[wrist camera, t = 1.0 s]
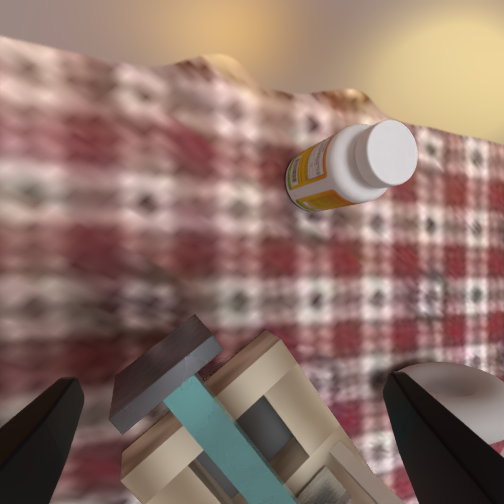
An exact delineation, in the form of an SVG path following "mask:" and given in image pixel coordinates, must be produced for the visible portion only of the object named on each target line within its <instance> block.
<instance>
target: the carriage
mask: <svg viewBox="0 0 504 504" xmlns="http://www.w3.org/2000/svg"><path fill="white" fill-rule="evenodd" d="M223 350H224V349H223V348H222V347H221V345H220V344H219V343H218V341H217V340H216V339H215V337H214V336H213V335H212V333H211V332H210V331H209V330H208V329H207V328H206V326H205V325H204V324H203V323H202V322H201V321H200V319H199V318H198V317H197V316H196V315H193V316H192V317H191V318H189V319H188V320H187V321H186V322H184V323H183V324H182V325H180V326H179V327H178V328H177V329H175V330H174V331H173V332H171V333H170V334H169V335H168V336H166V337H165V338H164V339H162V340H161V341H160V342H159V343H157V344H156V345H155V346H153V347H152V348H151V349H150V350H148V351H147V352H146V353H144V354H143V355H142V356H141V357H139V358H138V359H137V360H135V361H134V362H133V363H132V364H130V365H129V366H128V367H126V368H125V369H124V370H123V371H121V372H120V373H119V374H117V375H116V376H115V383H114V389H113V396H112V403H111V409H110V416H109V420H110V422H111V423H112V424H113V425H114V426H115V427H116V428H117V429H118V430H119V431H120V432H121V434H122V435H123V434H124V433H125V432H126V431H127V430H129V429H130V428H131V427H132V426H133V425H135V424H136V423H137V422H138V421H139V420H141V419H142V418H143V417H144V416H145V415H146V414H148V413H149V412H150V411H151V410H152V409H154V408H155V407H156V406H157V405H158V404H160V403H161V402H162V401H163V402H164V404H165V405H166V406H167V407H168V408H169V409H170V411H171V412H172V413H173V414H174V415H175V417H176V418H177V419H178V420H179V421H180V422H181V424H182V425H183V426H184V427H185V428H186V430H187V431H188V432H189V433H190V434H191V435H192V437H193V438H194V439H195V440H196V441H197V443H198V444H199V445H200V446H201V447H202V448H203V450H204V451H205V452H206V453H207V454H208V456H209V457H210V458H211V459H212V460H213V461H214V463H215V464H216V465H217V466H218V467H219V469H220V470H221V471H222V472H223V473H224V474H225V476H226V477H227V478H228V479H229V480H230V481H231V483H232V484H233V485H234V486H235V487H236V489H237V490H238V491H239V492H240V493H241V494H242V496H243V497H244V498H245V499H246V500H247V502H248V503H249V504H354V502H353V501H352V500H351V498H352V497H351V496H350V494H349V493H348V491H347V490H346V489H345V488H344V487H343V485H342V484H341V483H340V482H339V481H338V480H337V478H336V477H335V476H334V475H333V474H332V473H331V472H330V470H329V469H328V468H327V467H326V466H325V467H324V468H323V469H322V471H321V472H320V473H319V474H318V475H317V476H316V477H315V478H314V479H313V480H312V481H311V482H310V484H309V485H308V486H307V487H306V488H305V489H304V490H303V491H302V492H301V493H300V494H299V496H298V497H297V498H296V496H295V495H294V494H293V493H292V491H291V490H290V489H289V487H288V486H287V485H286V484H285V482H284V481H283V480H282V479H281V477H280V476H279V475H278V474H277V472H276V471H275V470H274V468H273V467H272V466H271V465H270V463H269V462H268V461H267V460H266V458H265V457H264V456H263V455H262V453H261V452H260V451H259V450H258V448H257V447H256V446H255V444H254V443H253V442H252V441H251V439H250V438H249V437H248V436H247V434H246V433H245V432H244V431H243V429H242V428H241V427H240V425H239V424H238V423H237V422H236V420H235V419H234V418H233V417H232V415H231V414H230V413H229V412H228V410H227V409H226V408H225V407H224V405H223V404H222V403H221V401H220V400H219V399H218V398H217V396H216V395H215V394H214V393H213V391H212V390H211V389H210V388H209V386H208V385H207V384H206V382H205V381H204V380H203V379H202V377H201V376H200V375H199V374H198V371H199V370H200V369H201V368H202V367H204V366H205V365H206V364H207V363H208V362H210V361H211V360H212V359H213V358H214V357H215V356H217V355H218V354H219V353H220V352H221V351H223Z"/></svg>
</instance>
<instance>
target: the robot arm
mask: <svg viewBox="0 0 504 504" xmlns="http://www.w3.org/2000/svg"><path fill="white" fill-rule="evenodd" d="M383 397H384V401H385V405H386V408H387V412H388V415H389V419H390V422H391V426H392V429H393V433H394V436H395V440H396V443H397V447H398V450H399V453H400V456H401V459H402V461H403V464H404V466H405V469H406V471H407V474H408V477H409V479H410V482H411V484H412V487H413V489H414V492H415V494H416V497H417V500H418V502H419V504H504V457H502V456H501V455H500V454H499V453H498V452H497V451H495V450H494V449H493V448H492V447H491V446H490V445H489V444H487V443H486V442H485V441H484V440H483V439H482V438H480V437H479V436H478V435H477V434H476V433H475V432H474V431H472V430H471V429H470V428H469V427H468V426H467V425H465V424H464V423H463V422H462V421H461V420H460V419H458V418H457V417H456V416H455V415H454V414H453V413H452V412H450V411H449V410H448V409H447V408H446V407H445V406H443V405H442V404H441V403H440V402H439V401H438V400H437V399H435V398H434V397H433V396H432V395H431V394H430V393H428V392H427V391H426V390H425V389H424V388H423V387H422V386H420V385H419V384H418V383H417V382H416V381H415V380H413V379H412V378H411V377H410V376H409V375H408V374H406V373H405V372H402V371H395V372H390V373H389V374H388V376H387V379H386V382H385V385H384V389H383ZM83 404H84V394H83V391H82V389H81V386H80V383H79V381H78V379H77V378H75V377H64V378H60V379H59V380H57V381H56V382H55V383H54V384H52V385H51V386H50V387H49V388H48V389H46V390H45V391H44V392H43V393H42V394H41V395H39V396H38V397H37V398H36V399H35V400H33V401H32V402H31V403H30V404H29V405H27V406H26V407H25V408H24V409H23V410H21V411H20V412H19V413H18V414H17V415H15V416H14V417H13V418H12V419H11V420H9V421H8V422H7V423H6V424H5V425H3V426H2V427H1V428H0V504H49V502H50V500H51V497H52V495H53V492H54V490H55V488H56V485H57V483H58V480H59V478H60V475H61V473H62V471H63V468H64V465H65V463H66V460H67V457H68V454H69V451H70V448H71V444H72V441H73V438H74V434H75V431H76V428H77V424H78V421H79V418H80V415H81V411H82V408H83Z"/></svg>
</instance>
